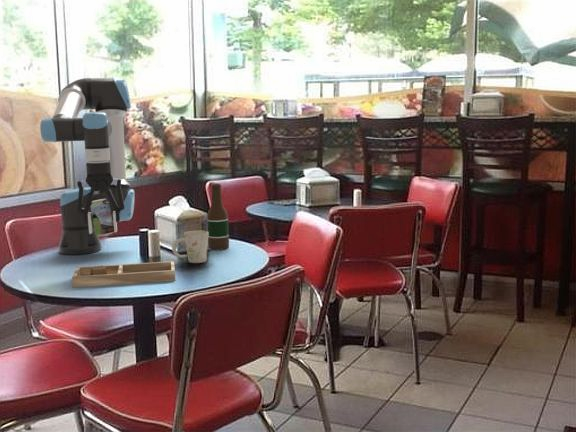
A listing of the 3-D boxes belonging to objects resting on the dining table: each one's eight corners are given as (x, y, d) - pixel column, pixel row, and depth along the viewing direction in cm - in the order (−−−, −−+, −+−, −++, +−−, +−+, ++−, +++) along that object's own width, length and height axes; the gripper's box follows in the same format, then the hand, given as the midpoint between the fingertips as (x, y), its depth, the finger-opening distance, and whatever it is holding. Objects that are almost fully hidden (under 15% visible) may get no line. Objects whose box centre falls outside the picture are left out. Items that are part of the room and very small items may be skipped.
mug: (211, 262, 241) (210, 233, 239) (174, 266, 238) (173, 236, 236) (207, 257, 249) (206, 229, 247) (171, 260, 245) (169, 232, 244)
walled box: (78, 279, 223) (77, 267, 222) (174, 273, 228) (173, 261, 227) (73, 290, 210) (72, 277, 209) (175, 283, 215) (174, 270, 214)
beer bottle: (208, 246, 268) (205, 183, 264) (228, 245, 269) (226, 182, 265) (208, 250, 260) (205, 185, 256) (229, 249, 261) (226, 184, 257)
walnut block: (90, 279, 218) (89, 267, 217) (103, 277, 220) (102, 265, 219) (94, 282, 215) (93, 269, 214) (107, 280, 217) (106, 267, 216)
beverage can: (109, 238, 225) (107, 200, 223) (88, 237, 227) (85, 200, 225) (118, 233, 231) (115, 197, 229) (97, 233, 233) (94, 197, 231)
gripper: (63, 164, 219) (69, 236, 224) (130, 161, 223) (134, 232, 227) (66, 161, 227) (72, 231, 231) (130, 159, 230) (135, 228, 234)
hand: (103, 232), depth 229 cm, fingers closed on beverage can, 7 cm apart
